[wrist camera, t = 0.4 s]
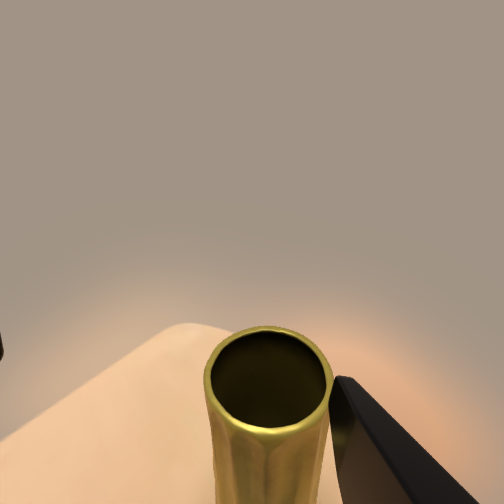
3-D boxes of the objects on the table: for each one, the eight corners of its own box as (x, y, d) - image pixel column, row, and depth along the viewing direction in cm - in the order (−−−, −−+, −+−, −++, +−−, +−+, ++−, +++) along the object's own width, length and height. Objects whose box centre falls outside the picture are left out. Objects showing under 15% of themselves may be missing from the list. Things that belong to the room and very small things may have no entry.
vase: (198, 518, 17) (164, 362, 11) (266, 450, 21) (269, 303, 15) (261, 643, 13) (265, 507, 7) (332, 531, 17) (377, 374, 10)
